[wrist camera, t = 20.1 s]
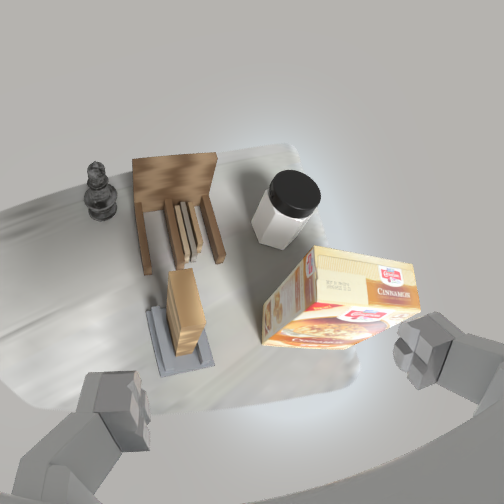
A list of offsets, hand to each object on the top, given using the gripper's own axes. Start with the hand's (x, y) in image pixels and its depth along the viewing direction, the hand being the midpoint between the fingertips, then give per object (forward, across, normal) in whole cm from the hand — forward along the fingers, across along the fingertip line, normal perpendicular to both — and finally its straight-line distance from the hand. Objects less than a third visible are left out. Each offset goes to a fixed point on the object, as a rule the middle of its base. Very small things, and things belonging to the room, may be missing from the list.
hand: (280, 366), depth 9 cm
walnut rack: (+46, -5, -10) cm, 47 cm away
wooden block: (+32, -6, -21) cm, 39 cm away
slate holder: (+32, -6, -22) cm, 39 cm away
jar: (+48, +12, -12) cm, 51 cm away
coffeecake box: (+34, +14, -25) cm, 44 cm away
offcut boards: (+45, -3, -11) cm, 47 cm away
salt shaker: (+49, -18, -5) cm, 52 cm away
